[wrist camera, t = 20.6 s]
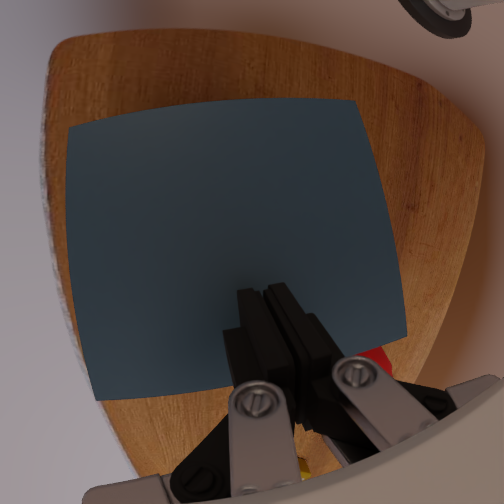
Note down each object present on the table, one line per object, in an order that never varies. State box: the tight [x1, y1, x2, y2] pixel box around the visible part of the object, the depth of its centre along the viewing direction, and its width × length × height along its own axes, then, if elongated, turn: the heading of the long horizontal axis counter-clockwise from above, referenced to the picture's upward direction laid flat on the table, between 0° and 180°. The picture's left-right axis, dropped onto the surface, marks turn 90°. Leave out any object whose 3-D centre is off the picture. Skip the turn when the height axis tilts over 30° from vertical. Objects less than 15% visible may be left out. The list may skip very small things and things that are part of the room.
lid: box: [66, 98, 407, 401], centre depth 13 cm, size 13×15×1 cm
